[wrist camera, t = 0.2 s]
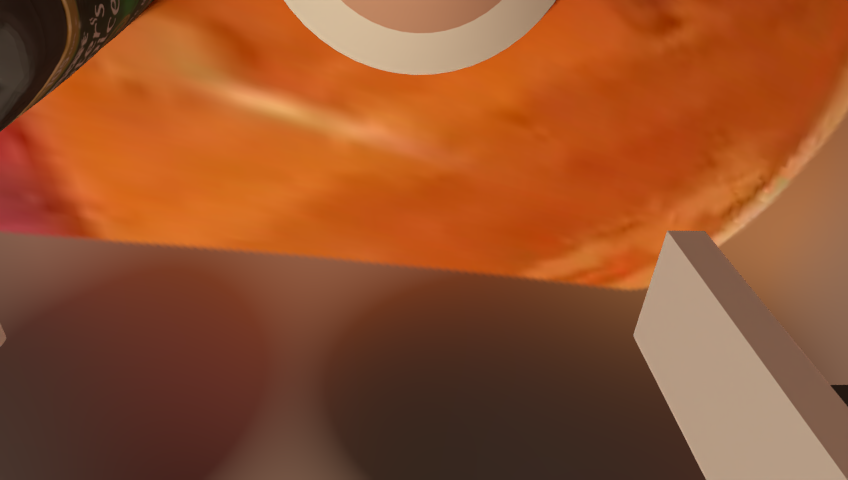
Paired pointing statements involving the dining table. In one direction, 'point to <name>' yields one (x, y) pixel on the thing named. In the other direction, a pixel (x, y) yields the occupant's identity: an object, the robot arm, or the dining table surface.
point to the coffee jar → (52, 44)
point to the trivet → (419, 30)
